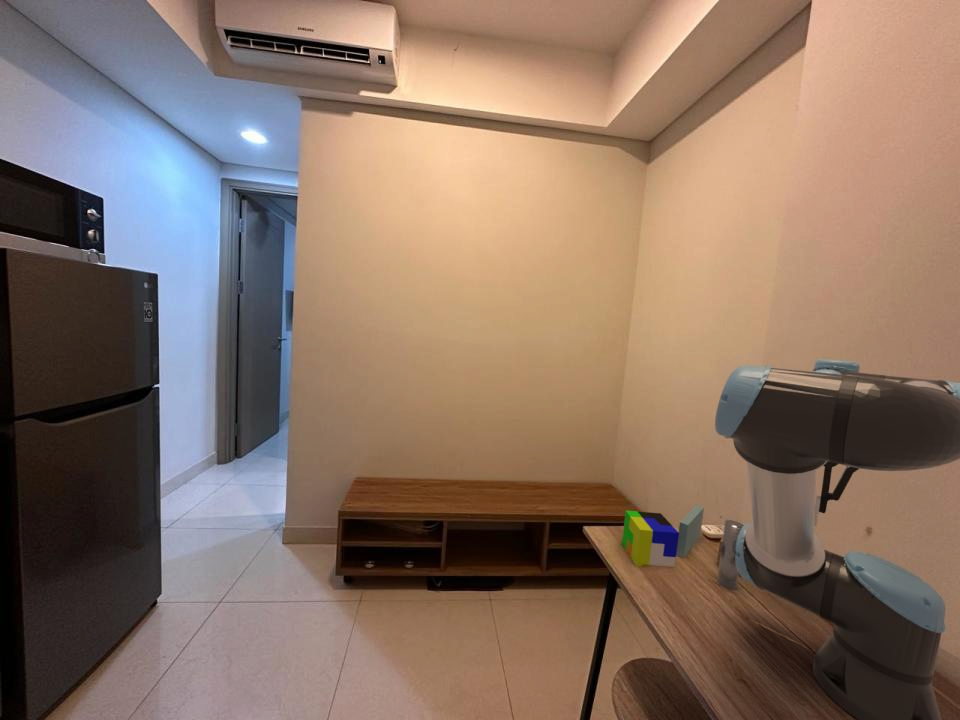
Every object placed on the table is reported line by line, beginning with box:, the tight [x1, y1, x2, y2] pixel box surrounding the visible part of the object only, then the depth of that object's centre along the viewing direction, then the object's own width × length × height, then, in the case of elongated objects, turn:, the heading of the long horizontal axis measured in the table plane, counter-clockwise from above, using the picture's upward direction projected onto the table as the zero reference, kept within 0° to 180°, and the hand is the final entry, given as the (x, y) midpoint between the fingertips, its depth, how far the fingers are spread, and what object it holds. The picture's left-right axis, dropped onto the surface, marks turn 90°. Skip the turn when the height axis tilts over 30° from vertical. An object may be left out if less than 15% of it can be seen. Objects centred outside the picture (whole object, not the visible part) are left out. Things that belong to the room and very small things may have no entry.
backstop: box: [676, 504, 705, 559], centre depth 100 cm, size 16×19×10 cm
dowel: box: [716, 519, 745, 591], centre depth 90 cm, size 4×4×16 cm
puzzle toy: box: [621, 510, 679, 568], centre depth 100 cm, size 10×10×10 cm
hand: (811, 522), depth 87 cm, fingers closed
